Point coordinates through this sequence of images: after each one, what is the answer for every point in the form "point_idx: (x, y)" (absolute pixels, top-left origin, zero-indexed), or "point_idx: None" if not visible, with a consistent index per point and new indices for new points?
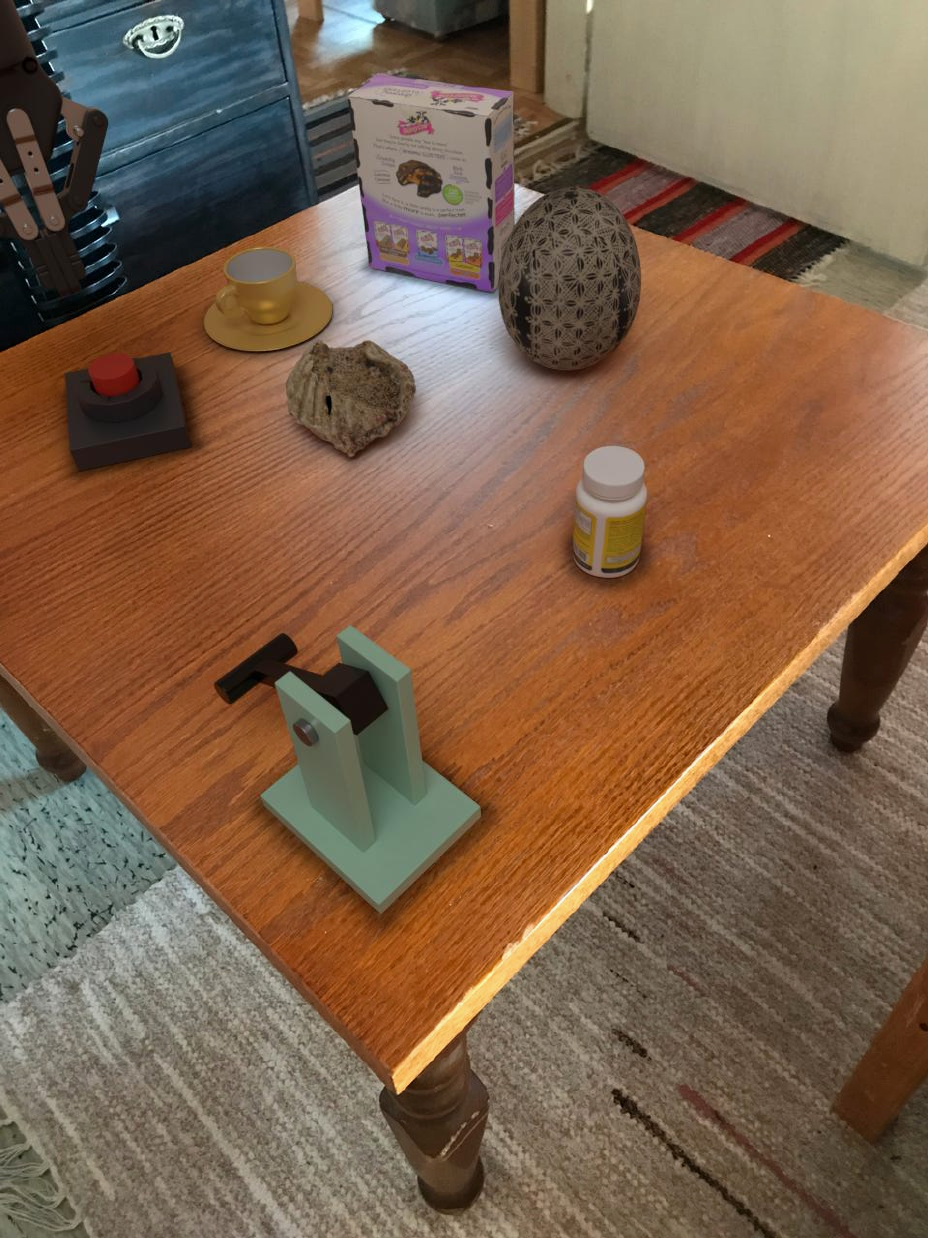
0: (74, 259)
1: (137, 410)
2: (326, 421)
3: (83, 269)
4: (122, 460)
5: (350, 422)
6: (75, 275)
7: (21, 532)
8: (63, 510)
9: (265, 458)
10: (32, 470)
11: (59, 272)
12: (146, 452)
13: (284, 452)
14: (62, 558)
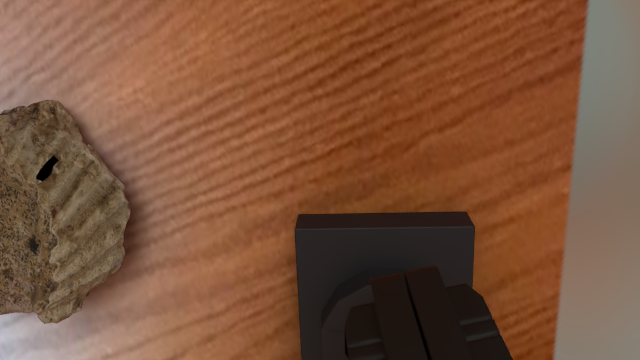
0: (368, 350)
1: (362, 277)
2: (68, 154)
3: (350, 325)
4: (400, 213)
5: (25, 131)
6: (377, 301)
7: (562, 101)
8: (496, 131)
9: (192, 154)
10: (533, 236)
11: (423, 308)
12: (363, 215)
13: (164, 159)
14: (508, 21)
